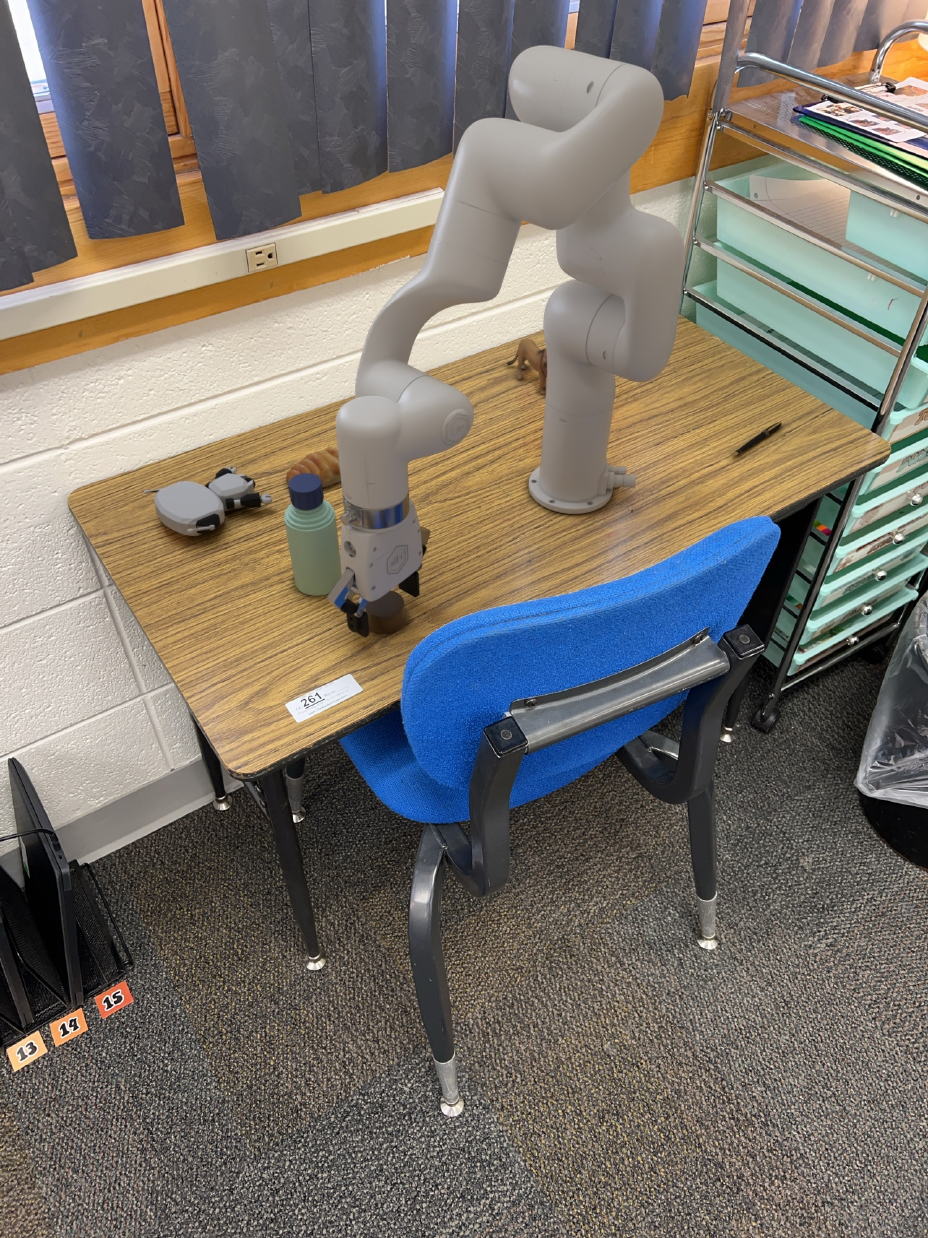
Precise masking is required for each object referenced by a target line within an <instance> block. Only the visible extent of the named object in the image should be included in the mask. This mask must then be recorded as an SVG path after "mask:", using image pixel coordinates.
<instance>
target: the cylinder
mask: <svg viewBox="0 0 928 1238" xmlns="http://www.w3.org/2000/svg"><path fill="white" fill-rule="evenodd" d="M405 606H406V605H405V599H404V597H403V596H402V595H401V594H400V593H398V592H397V591H394V590H390V591H389V592H388V593H386V594H385V595H384V596H382V597H381V598H379V599H377V600H375V601H371V602H369V601H368V602H367V605H366V607H365V610H364V611H365V612H367V614H368V623H369V630H371V631H372V632H374V633H377V634H381V635H384V634H385V635H388V634H393V633H395V632H398V631H399V630H400V629H401V628H403V627H404V624H405V623H406V609H405Z"/></svg>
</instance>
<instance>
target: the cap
mask: <svg viewBox="0 0 928 1238" xmlns="http://www.w3.org/2000/svg"><path fill="white" fill-rule="evenodd" d="M288 492H289V500H290V502H291V503H292V505H293V506H294V507H295V508H297V509H300V510H312V509H315V508H317V507H319V506H320V505H321V504H322V503H323V500H325V499H324V498H325V495H324V487H323V486H322V482H321V479H320V477H318V476H317V475H315V474H311V473H303V474H299V475H296V476H294V477H293V478H291V479H290V481H289V486H288ZM291 503H290V504H291Z"/></svg>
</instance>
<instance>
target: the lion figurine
mask: <svg viewBox="0 0 928 1238" xmlns="http://www.w3.org/2000/svg"><path fill="white" fill-rule="evenodd" d="M516 361H517V366H516V380H518V381H521V380H523V379H524V375H523V373H522V369H523V370H525V369H527V368H528V366H527V364H526V363H525V362H526V361H527V362H528V365H529V366H530V367H531V369H533V370H534V371H536V372H538V375H539V376H538V377H539V394H540V395H543V396H544V395H545V396H546V384H547V353H546V347H544V348H542V349H541V348H540V347H539V346H537V344H536V342H535V341H534V340H533V339H531V338H523V339H521V340H520V341H519V344H518V346H517V350H516V353H515V356H514V358H513V359H512V360H509V361H507V362H506V363H505V364H506V365H507V366H512V365H514V363H515V362H516Z"/></svg>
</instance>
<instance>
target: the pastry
mask: <svg viewBox="0 0 928 1238" xmlns="http://www.w3.org/2000/svg"><path fill="white" fill-rule="evenodd" d="M303 473H311V474H315V475H317V476H318V477H320V479H321V482H322V486H323V488H327V487H330V486H333V485H334V484H337V483H338V484H339V483H341V474H340V465H339V455H338V448H336V447H332V446H327V447H326V448H324V449H321V450H318V451H314V452H312V453H311V452H310V453H308V454H307V455H305V457H303V459H300V461H299V462H298V463H295V464H294V465H293V466H292V467H291V468H290V469H289V470H288V471H287V472H286V476H285V483H286V485H287V486H288V487H289V481H290V479H291V478H293V477H294V476H296V475H299V474H303Z"/></svg>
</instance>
